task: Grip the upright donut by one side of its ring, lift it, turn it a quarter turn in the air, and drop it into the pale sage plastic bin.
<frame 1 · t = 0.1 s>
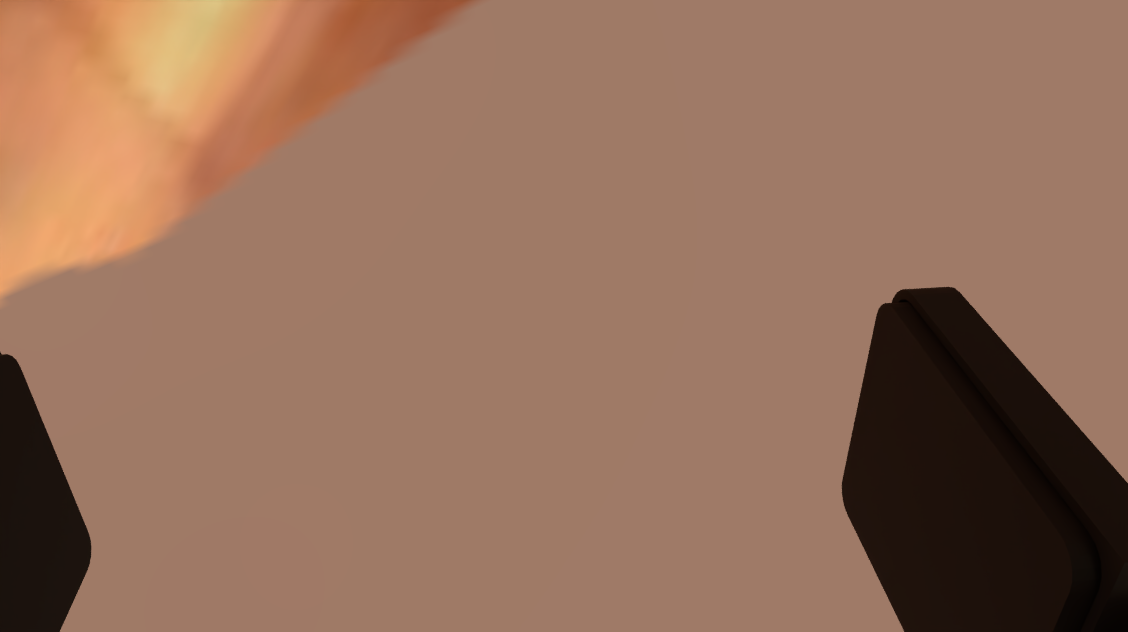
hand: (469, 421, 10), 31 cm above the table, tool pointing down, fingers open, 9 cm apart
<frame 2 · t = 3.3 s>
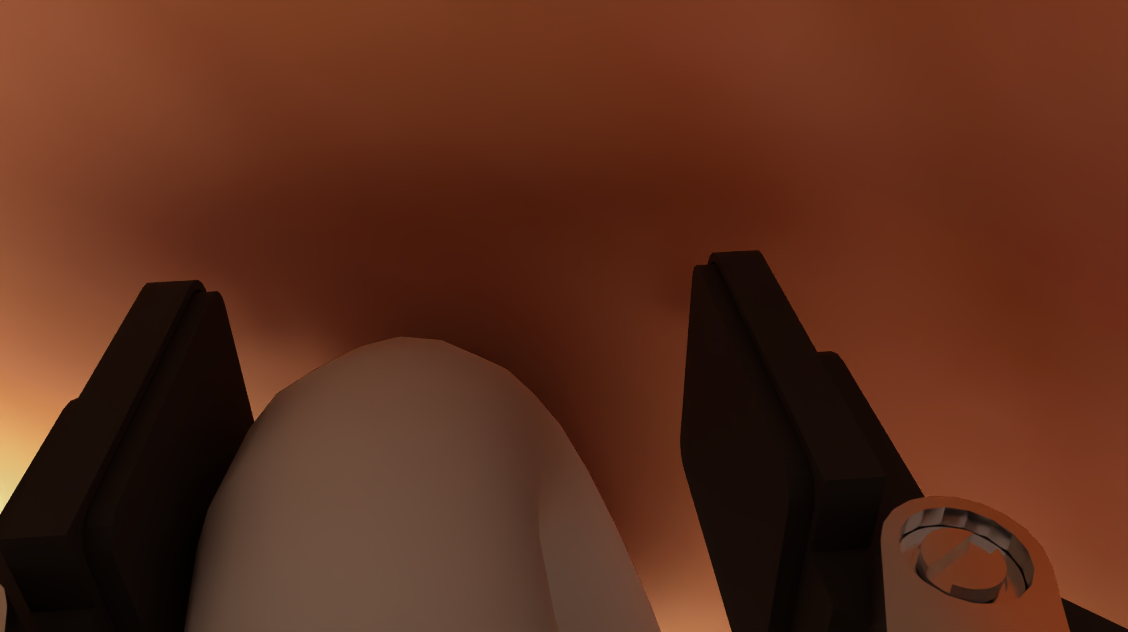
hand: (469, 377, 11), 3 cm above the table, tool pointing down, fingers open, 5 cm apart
donut: (495, 450, 15), on the table, touching gripper
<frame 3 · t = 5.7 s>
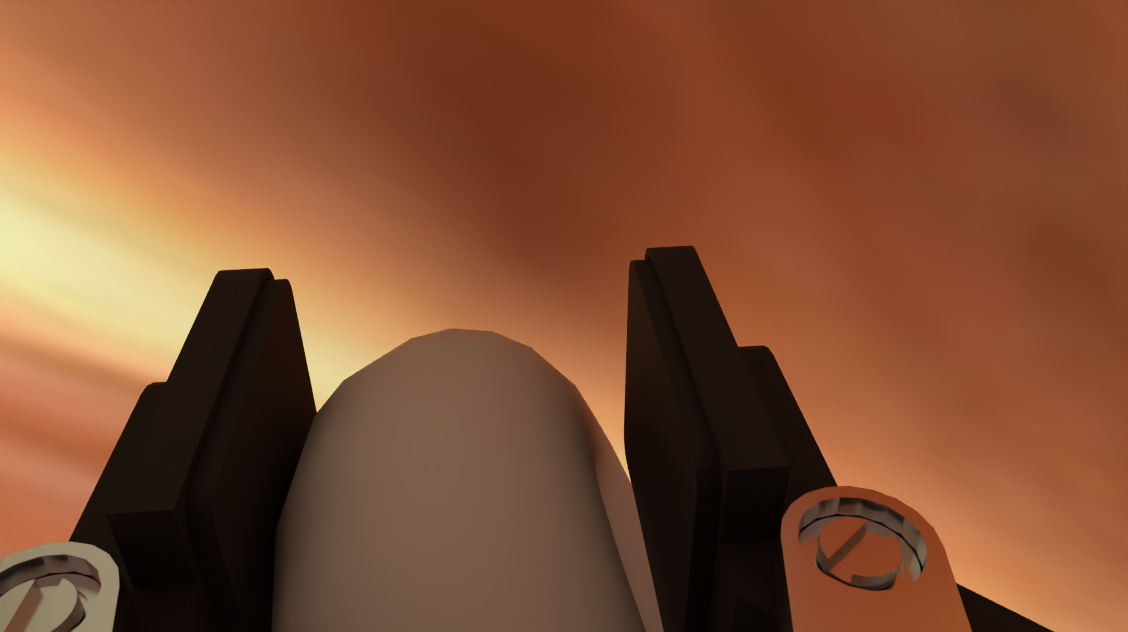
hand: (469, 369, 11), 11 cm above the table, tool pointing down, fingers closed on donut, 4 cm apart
donut: (522, 448, 15), point 8 cm above the table, touching gripper
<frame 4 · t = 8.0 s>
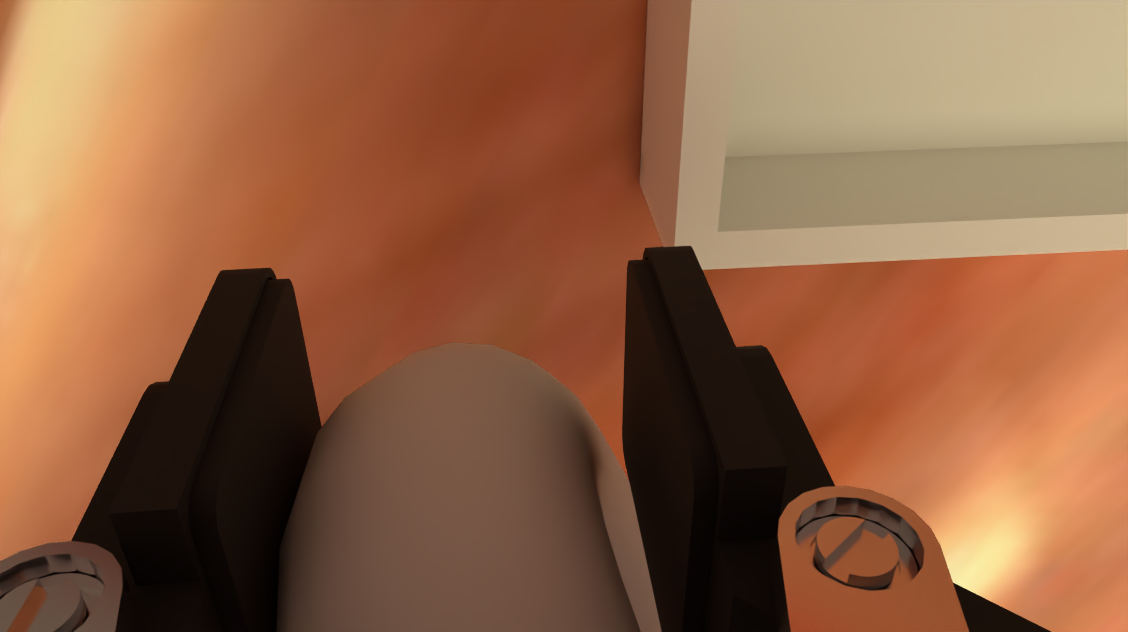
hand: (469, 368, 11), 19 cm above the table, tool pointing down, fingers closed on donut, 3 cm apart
donut: (527, 456, 16), point 16 cm above the table, touching gripper
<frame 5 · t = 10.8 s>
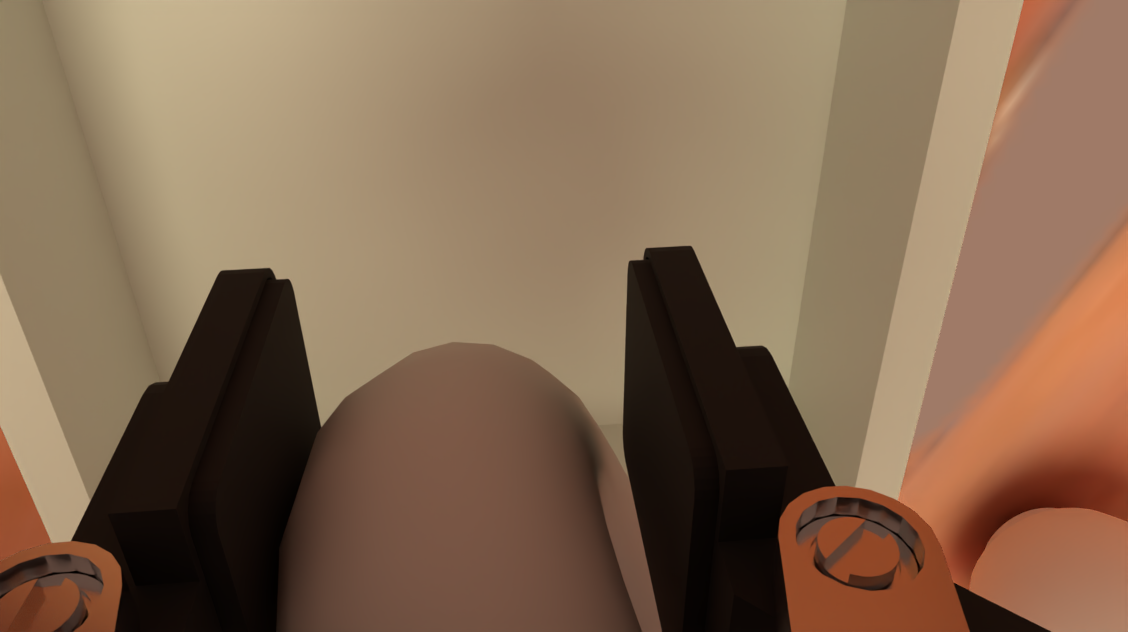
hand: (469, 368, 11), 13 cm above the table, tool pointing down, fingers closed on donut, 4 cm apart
sauce bottle: (1021, 527, 33), on the table
donut: (528, 456, 15), point 10 cm above the table, touching gripper
bin: (470, 137, 23), on the table
when the fingers open (6 cm above the table, at t = 12.4 s): donut drops 2 cm, resting on bin.
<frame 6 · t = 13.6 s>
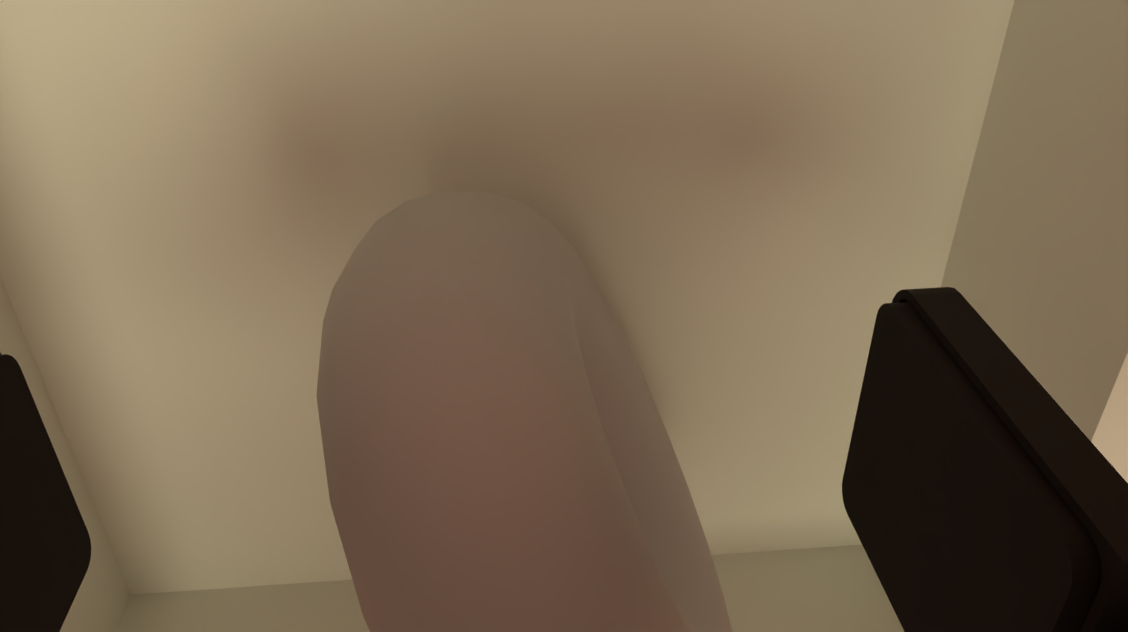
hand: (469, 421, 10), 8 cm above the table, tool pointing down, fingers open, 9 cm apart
donut: (539, 313, 18), point 1 cm above the table, touching bin
bin: (491, 222, 18), on the table
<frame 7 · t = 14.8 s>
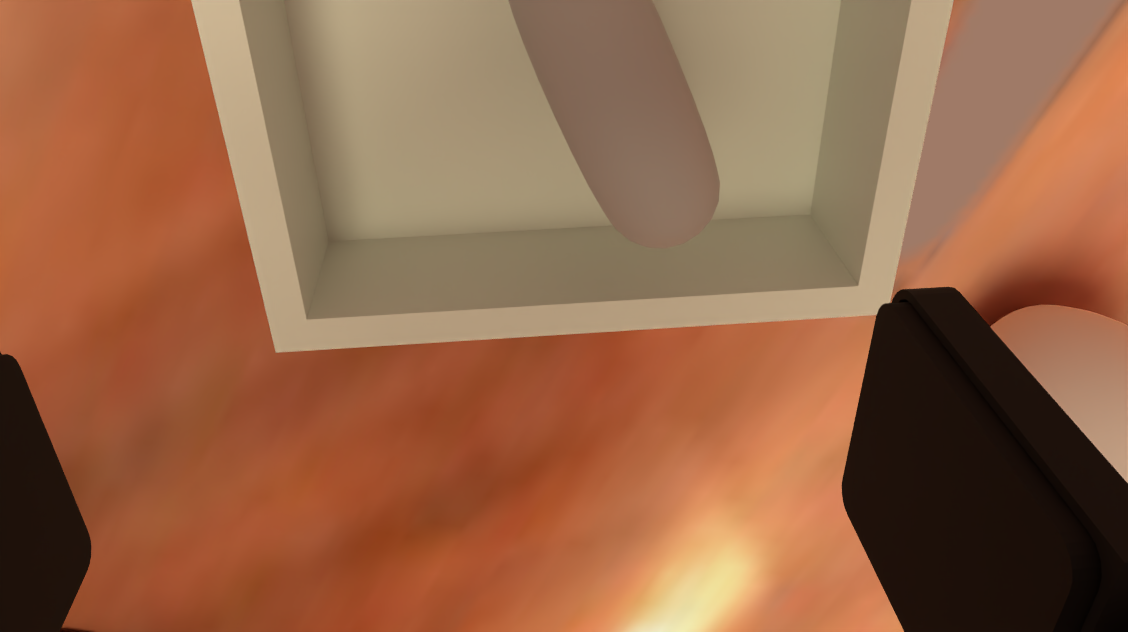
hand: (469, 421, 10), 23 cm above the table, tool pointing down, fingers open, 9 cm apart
sauce bottle: (1007, 335, 40), on the table
donut: (594, 29, 30), point 1 cm above the table, touching bin
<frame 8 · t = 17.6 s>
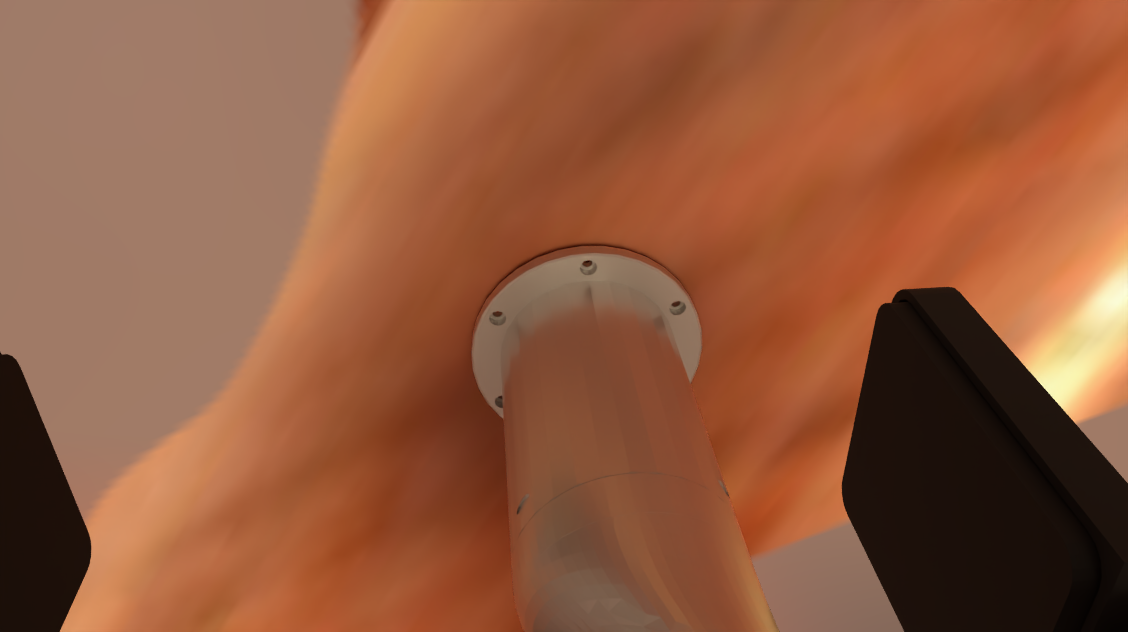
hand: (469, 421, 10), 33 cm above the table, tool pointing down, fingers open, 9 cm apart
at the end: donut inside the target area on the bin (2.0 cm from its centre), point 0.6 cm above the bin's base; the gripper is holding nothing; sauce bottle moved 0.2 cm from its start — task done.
